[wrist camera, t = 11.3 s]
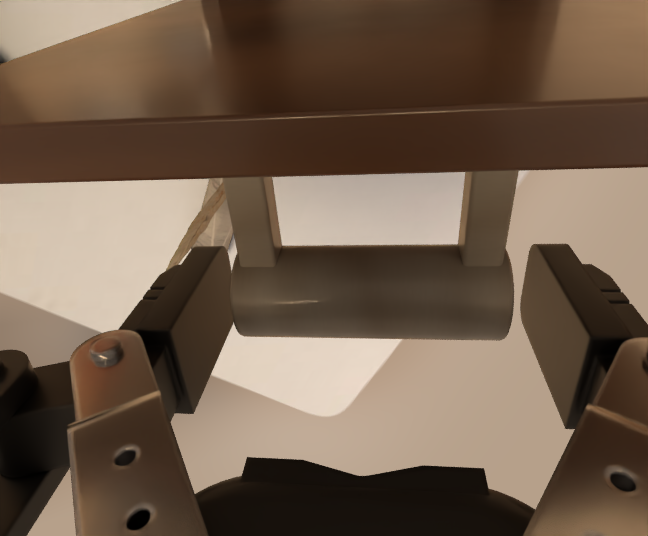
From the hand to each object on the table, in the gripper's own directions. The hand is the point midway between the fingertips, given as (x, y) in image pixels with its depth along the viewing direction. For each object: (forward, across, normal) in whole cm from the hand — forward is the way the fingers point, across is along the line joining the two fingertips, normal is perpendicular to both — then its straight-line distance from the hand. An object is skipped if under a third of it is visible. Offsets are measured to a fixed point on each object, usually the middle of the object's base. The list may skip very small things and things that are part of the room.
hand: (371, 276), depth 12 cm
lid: (+3, 0, -6) cm, 7 cm away
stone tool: (+19, +10, +5) cm, 22 cm away
